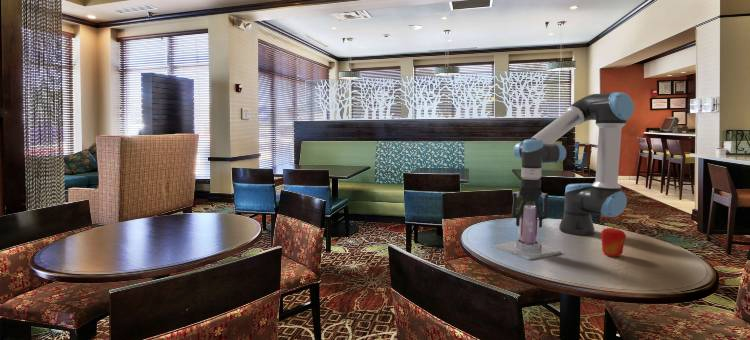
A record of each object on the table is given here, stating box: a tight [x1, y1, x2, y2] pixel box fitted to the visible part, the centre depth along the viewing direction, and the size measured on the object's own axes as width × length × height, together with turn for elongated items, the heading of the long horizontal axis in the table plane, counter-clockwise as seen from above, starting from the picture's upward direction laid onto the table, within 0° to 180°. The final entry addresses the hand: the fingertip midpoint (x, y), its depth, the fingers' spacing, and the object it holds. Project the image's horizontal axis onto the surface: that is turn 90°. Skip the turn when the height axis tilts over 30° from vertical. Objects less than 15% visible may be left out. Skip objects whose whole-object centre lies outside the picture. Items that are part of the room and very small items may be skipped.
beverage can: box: [519, 204, 538, 244], centre depth 167 cm, size 6×6×15 cm
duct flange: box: [494, 238, 563, 261], centre depth 168 cm, size 18×18×4 cm
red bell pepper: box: [600, 226, 627, 258], centre depth 161 cm, size 9×8×12 cm
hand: (528, 234), depth 167 cm, fingers closed on beverage can, 6 cm apart
